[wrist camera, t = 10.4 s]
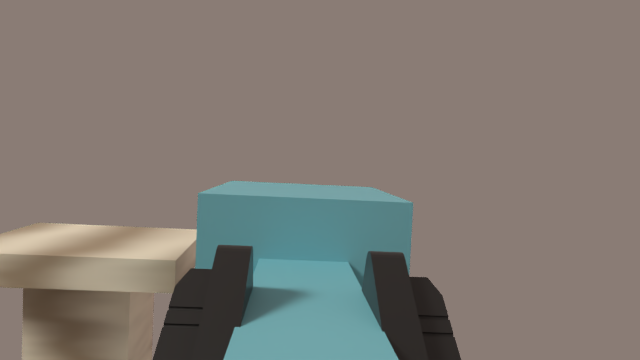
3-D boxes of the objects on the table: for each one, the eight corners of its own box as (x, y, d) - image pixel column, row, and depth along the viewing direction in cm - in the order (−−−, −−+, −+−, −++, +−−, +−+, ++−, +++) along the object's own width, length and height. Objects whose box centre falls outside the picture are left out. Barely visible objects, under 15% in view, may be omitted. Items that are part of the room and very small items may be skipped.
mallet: (11, 742, 5) (23, 256, 5) (227, 297, 23) (232, 180, 23) (583, 739, 6) (616, 279, 6) (365, 301, 23) (371, 187, 23)
